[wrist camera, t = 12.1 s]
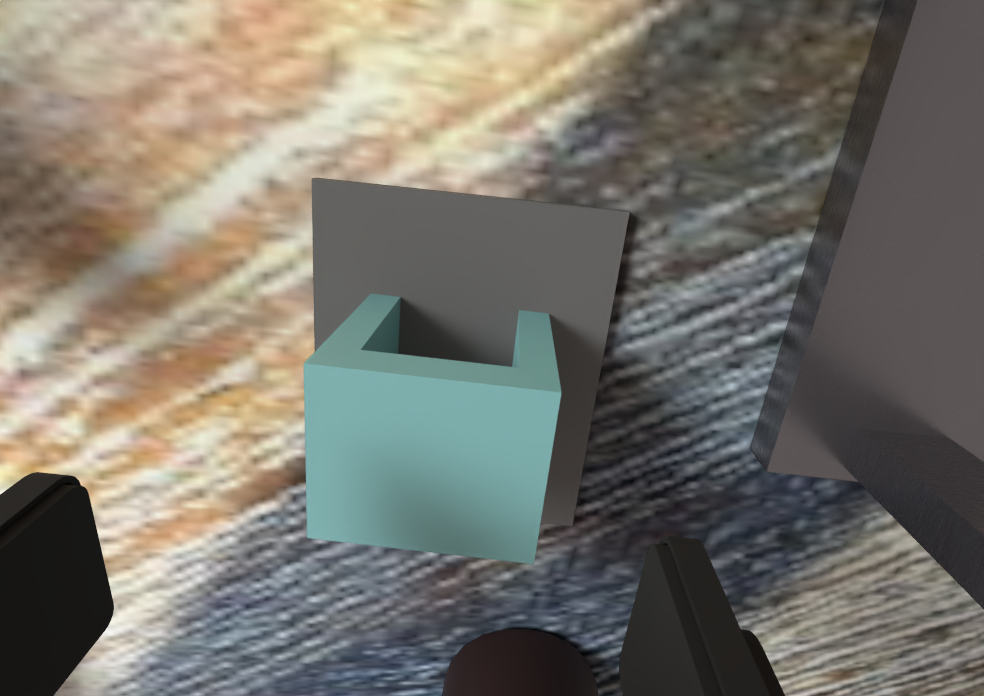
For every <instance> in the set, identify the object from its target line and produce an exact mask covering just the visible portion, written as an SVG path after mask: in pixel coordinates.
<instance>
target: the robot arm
mask: <svg viewBox="0 0 984 696" xmlns="http://www.w3.org/2000/svg"><path fill="white" fill-rule="evenodd" d="M113 610H114V604H113V599H112V595H111V590H110V586H109V582H108V577H107V573H106V568H105V564H104V560H103V555H102V551H101V547H100V542H99V538H98V533H97V529H96V525H95V520H94V516H93V511H92V507H91V503H90V498H89V494H88V491H87V489H86V488H85V487H83V486H81V485H80V482H79V480H78V479H77V478H76V477H73V476H69V475H59V474H49V473H39V472H36V473H31V474H29V475H27V476H25V477H24V478H22V479H21V480H20V481H18V482H17V483H16V484H14V485H13V486H11V487H10V488H9V489H7V490H6V491H5V492H3V493H2V494H1V495H0V696H53V695H54V694H55V693H56V692H57V690H58V689H59V688H60V687H61V685H62V684H63V683H64V682H65V680H66V679H67V678H68V676H69V675H70V674H71V673H72V671H73V670H74V669H75V668H76V666H77V665H78V664H79V663H80V661H81V660H82V659H83V658H84V656H85V655H86V654H87V653H88V651H89V650H90V649H91V647H92V646H93V645H94V644H95V642H96V641H97V640H98V639H99V637H100V636H101V635H102V634H103V632H104V631H105V630H106V628H107V627H108V625H109V623H110V621H111V618H112V615H113ZM619 674H620V683H621V688H622V693H623V696H785V695H784V692H783V690H782V688H781V686H780V684H779V682H778V680H777V677H776V675H775V673H774V671H773V669H772V667H771V665H770V662H769V660H768V658H767V656H766V654H765V652H764V650H763V648H762V646H761V644H760V642H759V641H758V639H757V637H756V636H755V635H754V634H753V633H752V632H751V631H748V630H741V629H740V627H739V625H738V622H737V620H736V618H735V616H734V613H733V611H732V609H731V607H730V604H729V602H728V600H727V597H726V595H725V593H724V591H723V588H722V586H721V584H720V582H719V579H718V577H717V575H716V573H715V570H714V568H713V566H712V563H711V561H710V559H709V557H708V554H707V552H706V550H705V548H704V546H703V544H702V542H701V541H700V540H698V539H691V538H681V537H671V536H663V538H662V539H661V541H660V543H659V544H651V545H650V546H649V549H648V552H647V556H646V560H645V564H644V567H643V571H642V575H641V579H640V583H639V586H638V590H637V594H636V598H635V602H634V605H633V609H632V613H631V617H630V621H629V624H628V628H627V632H626V636H625V640H624V643H623V647H622V651H621V655H620V662H619Z"/></svg>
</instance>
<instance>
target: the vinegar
mask: <svg viewBox="0 0 984 696" xmlns="http://www.w3.org/2000/svg"><path fill="white" fill-rule="evenodd" d="M442 696H598V690H597V683H596V680H595V678H594V675H593V673H592V670H591V668H590V666H589V663H588V661H587V660H586V659H585V658H584V657H583V656H582V655H581V654H580V653H579V652H578V651H577V649H576V648H575V647H574V646H572V645H570V644H569V643H567V642H565V641H563V640H561V639H559V638H558V637H556V636H554V635H551V634H547V633H543V632H539V631H535V630H531V629H505V630H500V631H496V632H492V633H488V634H484V635H482V636H480V637H478V638H477V639H475V640H473V641H471V642H469V643H468V644H466V645H464V647H463V648H462V649H461V650H460V651H459V652H458V653H457V654H456V656H455V657H454V658H453V659H452V661H451V663H450V665H449V668H448V671H447V674H446V677H445V680H444V687H443V694H442Z"/></svg>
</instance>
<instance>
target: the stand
mask: <svg viewBox="0 0 984 696" xmlns="http://www.w3.org/2000/svg"><path fill="white" fill-rule="evenodd" d="M750 450H751V451H752V452H753V454H754V455H755V457H756V458H757V459H758V461H759V462H760V463H761V465H762V466H763V467H764V469H765V470H766V471H767V472H775V473H784V474H793V475H802V476H811V477H820V478H829V479H838V480H847V481H856V482H859V483H860V484H861V485H862V486H863V487H864V488H865V489H866V490H867V491H868V492H869V493H870V494H871V495H872V496H873V497H874V498H875V499H876V500H877V501H878V502H879V503H880V504H881V505H882V506H883V507H884V508H885V509H886V510H887V511H888V512H889V513H890V514H891V515H892V516H893V517H894V518H895V519H896V520H897V521H898V522H899V523H900V524H901V526H902V527H903V528H904V529H905V530H906V531H907V532H908V533H909V534H910V535H911V536H912V537H913V538H914V539H915V540H916V541H917V542H918V543H919V544H920V545H921V546H922V547H923V548H924V549H925V550H926V551H927V552H928V553H929V554H930V555H931V556H932V557H933V558H934V559H935V560H936V561H937V562H938V563H939V564H940V565H941V566H942V567H943V568H944V569H945V570H946V571H947V572H948V573H949V574H950V575H951V576H952V577H953V578H954V579H955V580H956V581H957V582H958V584H959V585H960V586H961V587H962V588H963V589H964V590H965V591H966V592H967V593H968V594H969V595H970V596H971V597H972V598H973V599H974V600H975V601H976V602H977V603H978V604H979V605H980V606H981V607H982V608H983V609H984V0H886V1H885V4H884V7H883V11H882V14H881V17H880V20H879V24H878V27H877V30H876V34H875V37H874V40H873V44H872V47H871V50H870V53H869V57H868V60H867V63H866V67H865V70H864V73H863V77H862V80H861V83H860V87H859V90H858V93H857V96H856V100H855V103H854V106H853V110H852V113H851V116H850V120H849V123H848V126H847V129H846V133H845V136H844V139H843V143H842V146H841V149H840V153H839V156H838V159H837V162H836V166H835V169H834V172H833V176H832V179H831V182H830V186H829V189H828V192H827V195H826V199H825V202H824V205H823V209H822V212H821V215H820V219H819V222H818V225H817V229H816V232H815V235H814V238H813V242H812V245H811V248H810V252H809V255H808V258H807V262H806V265H805V268H804V271H803V275H802V278H801V281H800V285H799V288H798V291H797V295H796V298H795V301H794V304H793V308H792V311H791V314H790V318H789V321H788V324H787V328H786V331H785V334H784V337H783V341H782V344H781V347H780V351H779V354H778V357H777V361H776V364H775V367H774V371H773V374H772V377H771V380H770V384H769V387H768V390H767V394H766V397H765V400H764V404H763V407H762V410H761V413H760V417H759V420H758V423H757V427H756V430H755V433H754V437H753V440H752V443H751V446H750Z"/></svg>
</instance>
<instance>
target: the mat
mask: <svg viewBox="0 0 984 696" xmlns="http://www.w3.org/2000/svg"><path fill="white" fill-rule="evenodd" d="M629 213H630V212H629V211H626V210H616V209H607V208H597V207H588V206H578V205H569V204H559V203H550V202H540V201H531V200H522V199H512V198H503V197H493V196H484V195H474V194H465V193H455V192H446V191H436V190H427V189H418V188H408V187H399V186H389V185H380V184H370V183H361V182H351V181H342V180H332V179H323V178H312V222H313V279H314V337H315V351H316V350H317V349H318V348H319V347H320V346H321V345H322V344H323V343H324V342H325V341H326V340H327V339H328V338H329V337H330V336H331V335H332V334H333V333H334V331H335V330H336V329H337V328H338V327H339V326H340V325H341V324H342V323H343V322H344V321H345V320H346V319H347V318H348V317H349V316H350V315H351V314H352V313H353V312H354V311H355V310H356V309H357V308H358V307H359V306H360V304H361V303H362V302H363V301H364V300H365V299H366V298H367V297H368V296H369V295H370V294H380V295H389V296H398V297H401V300H400V322H399V344H398V354H402V355H411V356H420V357H428V358H437V359H446V360H455V361H464V362H473V363H481V364H490V365H499V366H508V367H512V363H513V355H514V347H515V339H516V331H517V323H518V315H519V310H522V311H531V312H540V313H549V318H550V324H551V330H552V336H553V343H554V349H555V355H556V361H557V368H558V374H559V380H560V386H561V399H560V405H559V411H558V417H557V423H556V430H555V436H554V442H553V448H552V454H551V460H550V467H549V473H548V479H547V485H546V491H545V497H544V504H543V510H542V516H541V522H540V523H547V524H556V525H565V526H573V520H574V515H575V509H576V504H577V498H578V493H579V487H580V482H581V476H582V471H583V465H584V460H585V454H586V449H587V443H588V438H589V432H590V427H591V422H592V416H593V411H594V405H595V400H596V394H597V389H598V383H599V378H600V372H601V367H602V361H603V356H604V350H605V345H606V339H607V334H608V328H609V323H610V317H611V312H612V306H613V301H614V295H615V290H616V284H617V279H618V273H619V268H620V262H621V257H622V251H623V246H624V240H625V235H626V229H627V224H628V218H629Z"/></svg>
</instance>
